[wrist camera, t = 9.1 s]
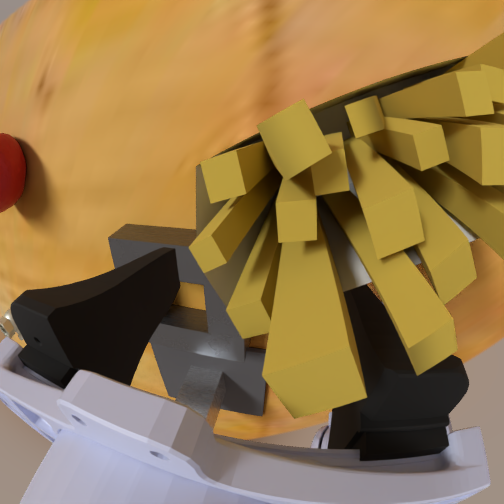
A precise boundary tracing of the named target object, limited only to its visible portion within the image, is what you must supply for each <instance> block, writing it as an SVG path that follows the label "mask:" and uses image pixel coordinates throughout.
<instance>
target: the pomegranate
mask: <svg viewBox="0 0 504 504" xmlns="http://www.w3.org/2000/svg"><path fill="white" fill-rule="evenodd" d="M25 176H26V162H25V157H24V155H23V152H22V150H21V147H20V145H19V143H18V142H17V141H16V140H15V139H14V138H13V137H12V136H10V135H9V134H4V133H0V213H1V212H3V211H5V210H7V209H8V208H10V207H11V206H13V205H14V204H15V203H16V202H17V200H18V199H19V198H20V197H21V195H22V193H23V190H24V185H25Z"/></svg>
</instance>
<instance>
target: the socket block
mask: <svg viewBox="0 0 504 504" xmlns="http://www.w3.org/2000/svg"><path fill="white" fill-rule="evenodd" d="M196 238H197V236H196V230H193V229H181V228H170V227H158V226H146V225H133V224H125V225H124V226H123V227H121V228H120V229H119V230H117V231H116V232H115V233H114V234H112V235H111V236H110V237H108V240H109V245H110V249H111V254H112V258H113V262H114V266H115V269H116V268H118V267H120V266H123V265H125V264H127V263H129V262H131V261H133V260H135V259H137V258H139V257H142V256H144V255H146V254H148V253H150V252H152V251H154V250H157V249H159V248H162V247H167V248H175V250H176V258H177V266H178V273H179V280H180V281H181V282H188V283H194V284H201V285H204V294H205V304H206V311H205V310H199V309H193V308H188V307H182V306H177V305H171V307H170V308H169V310H168V311H167V313H166V315H165V316H164V318H163V319H162V321H161V322H160V324H159V326H158V327H157V329H156V330H155V332H154V334H153V335H152V337H151V338H150V340H149V342H150V343H154V344H158V345H162V346H166V347H170V348H174V349H179V350H183V351H187V352H192V353H197V354H201V355H206V356H211V357H216V358H222V359H227V360H233V361H239V362H245V358H246V355H247V351H248V348H249V344H250V337H249V338H245V339H242V337H241V335H240V334H239V332H238V330H237V329H236V327H235V325H234V324H233V322H232V320H231V318H230V317H229V315H228V313H227V311H226V309H227V307H226V306H225V304H224V303H223V301H222V300H221V299H220V297H219V296H218V294H217V293H216V291H215V290H214V288H213V287H212V285H211V284H210V282H209V281H208V279H207V278H206V276H205V274H204V273H203V271H202V270H201V268H200V267H199V265H198V264H197V261H196V259H195V258H194V256H193V254H192V253H191V251H190V249H189V248H188V247H189V246H190V245H191V244H192V243H193V241H194V240H195V239H196Z"/></svg>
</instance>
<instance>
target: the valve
mask: <svg viewBox="0 0 504 504" xmlns="http://www.w3.org/2000/svg"><path fill="white" fill-rule="evenodd" d="M0 329H1V331H2V332H3V333H4V335H5V336H6V337H9V338H10V339H11V337H12V336H13V335H14V334H15V332H17V333H18V334H19V335H18V337H19V338H20V339H21V340H23V337H22V335H21V333H20V331H19V330H18V328H17V326H16V324H15V322H14V320H13V318H12V314H11V308H10V309H8V310H7V311H6V313H5V316H4V317H2V318H1V319H0Z"/></svg>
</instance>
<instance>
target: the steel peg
mask: <svg viewBox="0 0 504 504" xmlns="http://www.w3.org/2000/svg"><path fill="white" fill-rule="evenodd" d="M225 392H226V386H225V381H224V376H223V371H217V370H211V369H205V368H200V367H194V366H191V367H190V369H189V371H188V373H187V376H186V378H185V380H184V382H183V384H182V387H181V389H180V391H179V393H178V395H177V398H176V400H175V401H176V402H179V403H181V404H184V405H186V406H188V407H190V408H191V409H193V410H194V411H196V412H197V413H199V414H201V415H202V416H203V417H204V418H205V420H206V421H207V422H208V424H209V425H210V427H211V428H212V430H213V429H214V426H215V423H216V420H217V417H218V414H219V411H220V408H221V405H222V402H223V399H224V395H225Z"/></svg>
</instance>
